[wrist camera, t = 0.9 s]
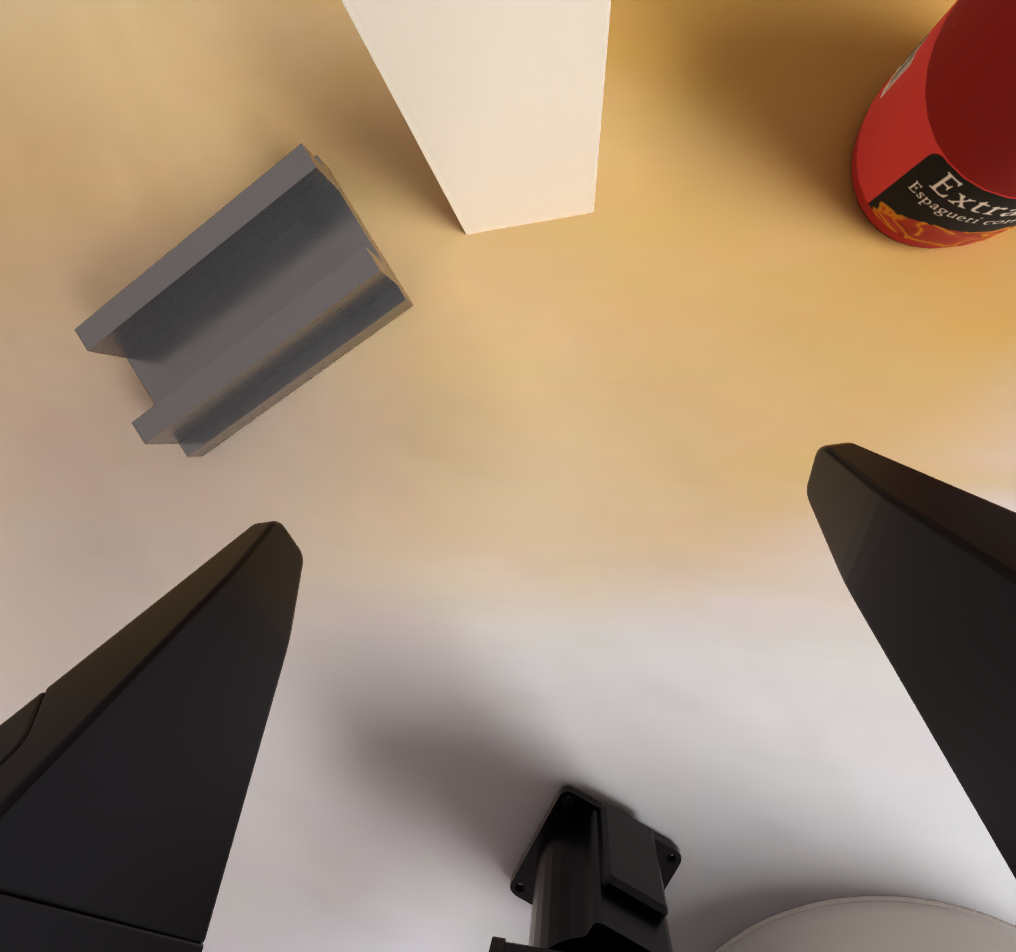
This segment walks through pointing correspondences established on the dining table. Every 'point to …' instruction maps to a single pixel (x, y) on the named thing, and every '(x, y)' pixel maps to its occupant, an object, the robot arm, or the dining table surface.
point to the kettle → (876, 928)
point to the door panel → (497, 99)
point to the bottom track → (249, 306)
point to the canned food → (945, 134)
